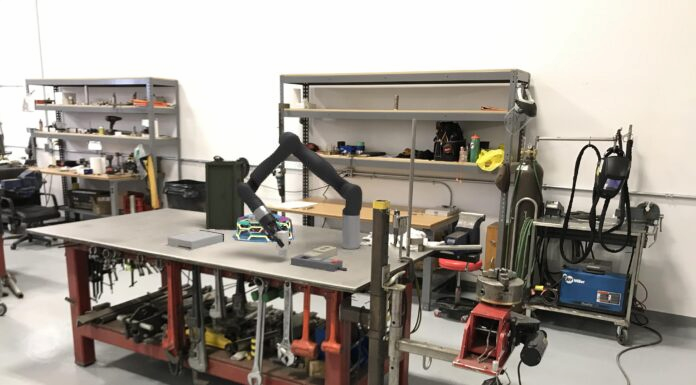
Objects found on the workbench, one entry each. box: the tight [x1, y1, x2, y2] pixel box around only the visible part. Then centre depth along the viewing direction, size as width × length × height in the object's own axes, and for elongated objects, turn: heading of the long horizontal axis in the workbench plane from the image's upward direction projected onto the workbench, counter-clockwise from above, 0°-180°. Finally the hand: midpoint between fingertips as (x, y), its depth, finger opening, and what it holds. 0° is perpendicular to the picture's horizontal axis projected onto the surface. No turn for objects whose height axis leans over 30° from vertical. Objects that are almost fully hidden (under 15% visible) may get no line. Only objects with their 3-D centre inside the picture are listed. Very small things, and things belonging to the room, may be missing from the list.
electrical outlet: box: [301, 245, 338, 259], centre depth 236 cm, size 7×4×18 cm
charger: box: [276, 231, 290, 258], centre depth 228 cm, size 5×4×12 cm
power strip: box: [290, 253, 348, 273], centre depth 220 cm, size 8×26×4 cm, turn 63°
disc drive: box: [167, 229, 225, 251], centre depth 259 cm, size 18×22×5 cm
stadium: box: [232, 213, 295, 243], centre depth 277 cm, size 35×24×14 cm
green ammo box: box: [204, 160, 245, 231], centre depth 303 cm, size 18×18×40 cm
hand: (286, 245), depth 227 cm, fingers closed on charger, 4 cm apart
